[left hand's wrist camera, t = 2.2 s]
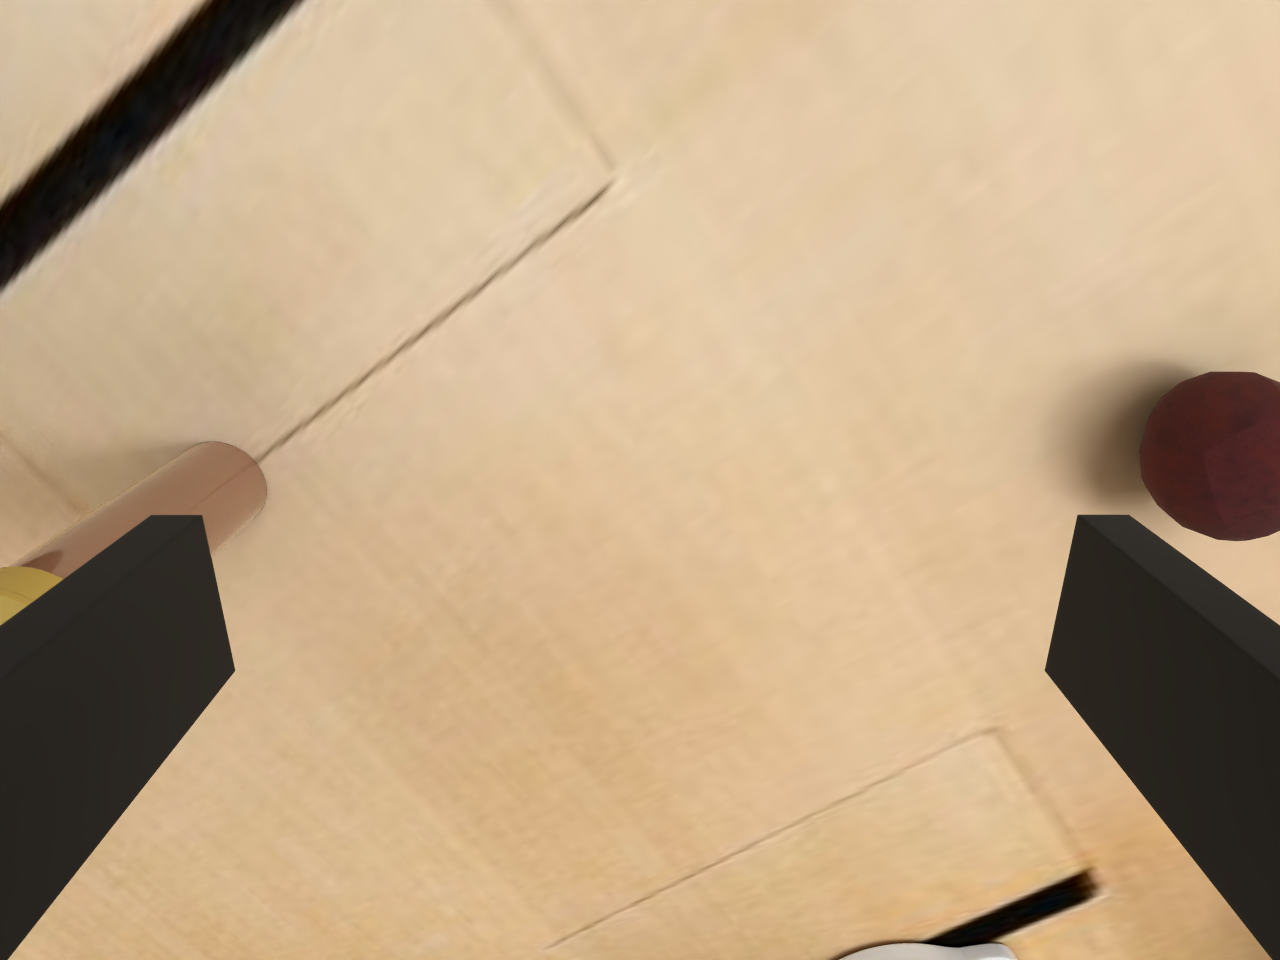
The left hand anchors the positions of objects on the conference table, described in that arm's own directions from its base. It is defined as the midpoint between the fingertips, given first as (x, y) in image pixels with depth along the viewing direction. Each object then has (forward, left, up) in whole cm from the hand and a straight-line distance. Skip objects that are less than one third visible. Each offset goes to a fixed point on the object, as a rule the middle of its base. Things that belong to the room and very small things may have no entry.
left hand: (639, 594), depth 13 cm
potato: (+6, +27, -28) cm, 39 cm away
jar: (+9, -21, -28) cm, 36 cm away
